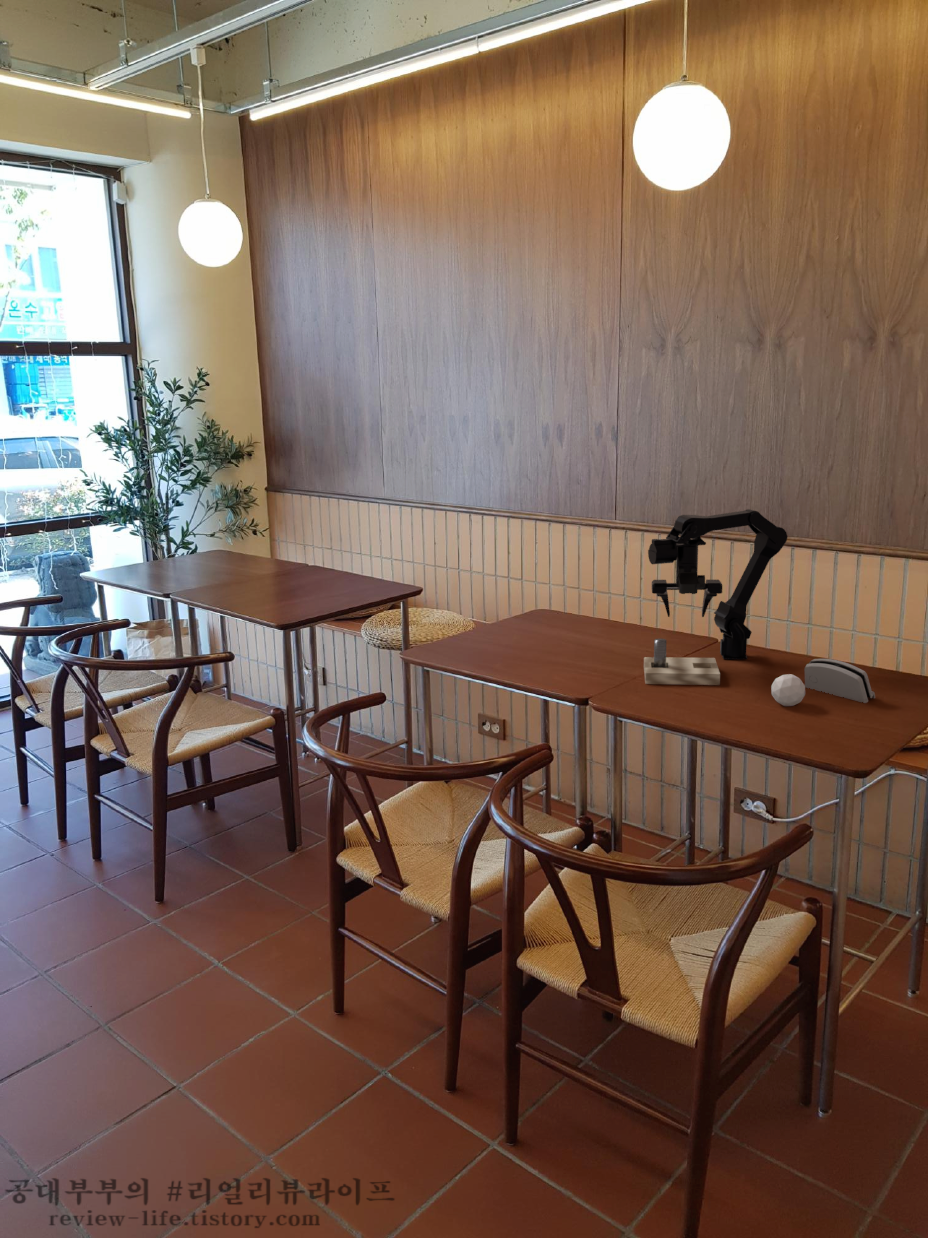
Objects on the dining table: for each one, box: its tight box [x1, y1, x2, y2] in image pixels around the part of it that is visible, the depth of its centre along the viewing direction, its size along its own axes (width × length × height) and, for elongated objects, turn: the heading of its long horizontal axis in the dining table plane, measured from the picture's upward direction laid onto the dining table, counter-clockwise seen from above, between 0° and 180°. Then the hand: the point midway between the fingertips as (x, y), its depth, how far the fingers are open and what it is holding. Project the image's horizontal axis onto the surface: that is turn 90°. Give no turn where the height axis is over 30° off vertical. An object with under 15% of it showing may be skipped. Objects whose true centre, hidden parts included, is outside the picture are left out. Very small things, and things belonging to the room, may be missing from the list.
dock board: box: [643, 656, 721, 686], centre depth 251 cm, size 19×14×3 cm
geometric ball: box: [770, 673, 806, 707], centre depth 226 cm, size 8×8×8 cm
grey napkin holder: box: [804, 658, 876, 704], centre depth 232 cm, size 17×5×10 cm, turn 38°
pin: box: [653, 638, 667, 668], centre depth 251 cm, size 3×3×10 cm
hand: (685, 616), depth 260 cm, fingers open, 9 cm apart
